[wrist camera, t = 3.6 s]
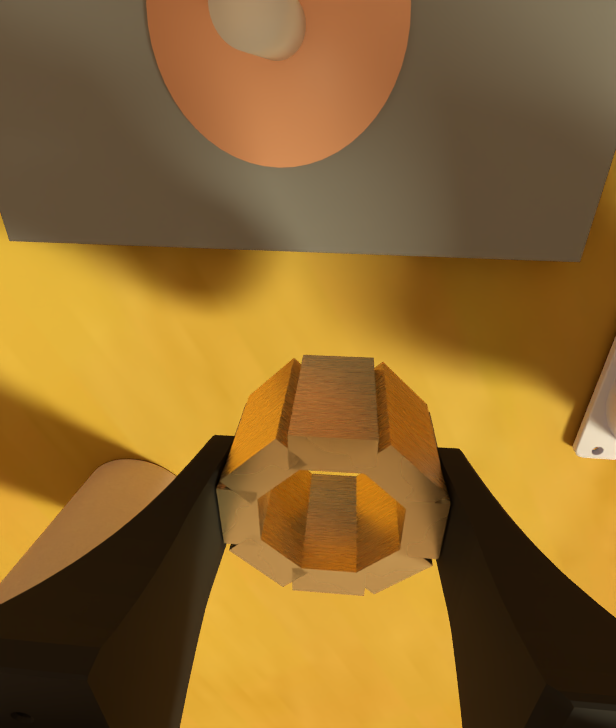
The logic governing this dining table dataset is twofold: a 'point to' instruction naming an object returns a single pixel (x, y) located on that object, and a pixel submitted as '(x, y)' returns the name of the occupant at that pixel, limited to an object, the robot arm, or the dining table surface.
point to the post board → (308, 124)
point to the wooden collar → (334, 479)
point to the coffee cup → (88, 520)
